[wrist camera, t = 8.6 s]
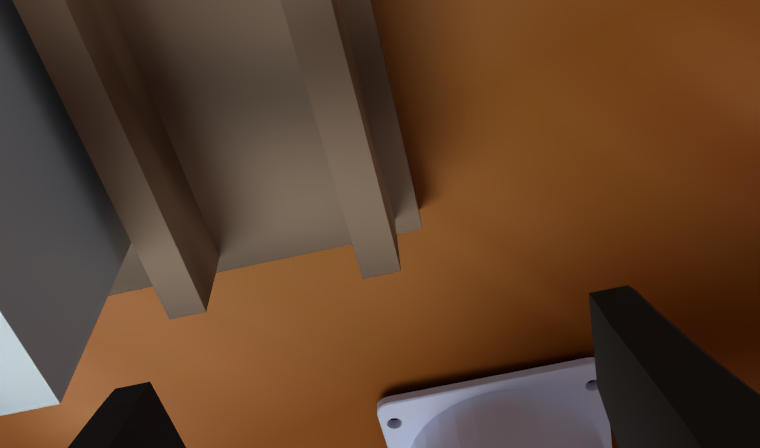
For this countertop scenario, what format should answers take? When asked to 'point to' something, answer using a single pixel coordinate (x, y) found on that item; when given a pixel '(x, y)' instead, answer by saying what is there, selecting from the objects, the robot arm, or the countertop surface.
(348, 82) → the rack
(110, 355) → the countertop surface
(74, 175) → the grey block
